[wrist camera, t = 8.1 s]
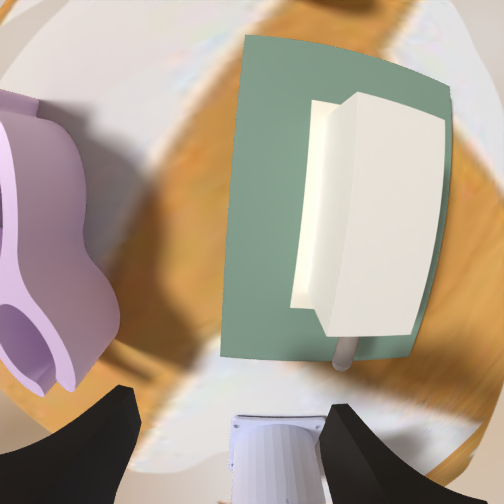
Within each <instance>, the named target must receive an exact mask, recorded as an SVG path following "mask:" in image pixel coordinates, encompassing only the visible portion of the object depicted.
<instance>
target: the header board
mask: <svg viewBox="0 0 504 504" xmlns="http://www.w3.org/2000/svg"><path fill="white" fill-rule="evenodd" d="M356 92H361V93H365V94H369V95H373V96H376V97H380V98H383V99H387V100H390V101H393V102H397V103H400V104H403V105H406V106H409V107H412V108H415V109H417V110H420V111H423V112H426V113H428V114H431V115H433V116H436V117H438V118H441V119H443V120H445V158H444V175H443V187H442V197H441V206H440V213H439V220H438V227H437V233H436V239H435V244H434V249H433V254H432V259H431V264H430V268H429V272H428V277H427V281H426V285H425V288H424V292H423V296H422V299H421V303H420V306H419V310H418V313H417V316H416V319H415V323H414V326H413V329H412V332H411V335H392V336H360V339H359V343H358V346H357V350H356V353H355V356H354V359H353V361H354V360H374V359H388V358H400V357H409V355H410V352H411V350H412V347H413V344H414V342H415V339H416V336H417V333H418V330H419V327H420V324H421V321H422V318H423V315H424V312H425V309H426V305H427V302H428V299H429V295H430V291H431V288H432V284H433V280H434V276H435V272H436V267H437V263H438V258H439V254H440V249H441V244H442V238H443V232H444V226H445V220H446V213H447V205H448V196H449V186H450V174H451V154H452V117H451V98H450V87H449V86H447V85H445V84H443V83H441V82H439V81H437V80H434V79H432V78H430V77H428V76H425V75H423V74H420V73H418V72H415V71H413V70H410V69H408V68H405V67H402V66H400V65H397V64H394V63H391V62H388V61H385V60H382V59H379V58H376V57H372V56H369V55H365V54H362V53H358V52H354V51H351V50H347V49H342V48H338V47H334V46H329V45H324V44H319V43H313V42H308V41H301V40H295V39H287V38H279V37H269V36H257V35H245V42H244V50H243V59H242V67H241V76H240V85H239V95H238V104H237V114H236V125H235V135H234V146H233V158H232V169H231V182H230V194H229V208H228V222H227V236H226V252H225V268H224V286H223V306H222V328H221V353H220V357H230V358H243V359H258V360H278V361H332V358H333V354H334V351H335V347H336V343H337V339H338V337H327V336H326V334H325V332H324V330H323V327H322V325H321V323H320V321H319V319H318V317H317V314H316V312H315V310H314V308H313V306H312V304H311V301H310V299H309V297H308V295H307V293H306V290H307V283H308V277H309V270H310V263H311V256H312V249H313V242H314V234H315V226H316V217H317V209H318V200H319V190H320V180H321V169H322V157H323V144H324V130H325V117H326V116H328V115H329V114H330V113H331V112H332V111H334V110H335V109H336V108H337V107H339V106H340V105H341V104H342V103H344V102H345V101H346V100H347V99H349V98H350V97H351V96H352V95H354V94H355V93H356Z"/></svg>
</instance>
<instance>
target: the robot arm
mask: <svg viewBox="0 0 504 504" xmlns="http://www.w3.org/2000/svg"><path fill="white" fill-rule="evenodd" d="M141 423H142V422H141V419H140V415H139V411H138V407H137V403H136V399H135V394H134V390H133V388H130V387H126V386H122V385H117V386H116V387H115V388H114V389H112V390H111V391H110V392H109V393H107V394H106V395H105V396H104V397H103V398H101V399H100V400H99V401H98V402H97V403H95V404H94V405H93V406H92V407H90V408H89V409H88V410H87V411H85V412H84V413H83V414H81V415H80V416H79V417H77V418H76V419H75V420H73V421H72V422H70V423H69V424H67V425H66V426H64V427H63V428H61V429H60V430H58V431H57V432H55V433H53V434H51V435H50V436H48V437H46V438H44V439H42V440H40V441H38V442H36V443H33V444H31V445H29V446H26V447H24V448H21V449H18V450H16V451H12V452H9V453H5V454H1V455H0V504H113V503H114V500H115V496H116V492H117V489H118V486H119V484H120V481H121V479H122V476H123V474H124V472H125V469H126V467H127V464H128V462H129V460H130V457H131V455H132V452H133V450H134V448H135V445H136V442H137V438H138V435H139V431H140V427H141ZM318 439H319V441H320V451H321V458H322V463H323V467H324V471H325V475H326V479H327V483H328V486H329V490H330V494H331V498H332V502H333V504H488V503H487V501H484V500H480V499H476V498H472V497H468V496H465V495H462V494H459V493H456V492H454V491H452V490H449V489H447V488H445V487H443V486H441V485H439V484H437V483H435V482H433V481H432V480H430V479H428V478H426V477H425V476H423V475H422V474H420V473H419V472H417V471H416V470H414V469H413V468H412V467H410V466H409V465H407V464H406V463H405V462H404V461H402V460H401V459H400V458H399V457H398V456H397V455H395V454H394V453H393V452H392V451H391V450H390V449H389V448H388V447H387V446H386V445H385V444H384V443H383V442H382V441H381V440H380V439H379V438H378V437H377V436H376V435H375V434H374V433H373V432H372V431H371V430H370V429H369V427H368V426H367V425H366V424H365V423H364V422H363V421H362V420H361V418H360V417H359V416H358V415H357V414H356V413H355V412H354V410H353V409H352V408H351V407H350V406H349V405H348V404H333V405H332V406H331V409H330V411H329V414H328V417H327V419H326V422H325V419H324V418H323V417H312V418H260V417H241V416H235V417H233V418H232V421H231V436H230V452H229V470H230V471H233V479H232V497H231V504H326V501H325V496H324V491H323V486H322V481H321V476H320V471H319V466H318V461H317V456H316V451H315V446H316V444H317V442H318Z"/></svg>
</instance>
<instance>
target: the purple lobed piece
mask: <svg viewBox="0 0 504 504" xmlns="http://www.w3.org/2000/svg"><path fill="white" fill-rule="evenodd" d="M38 107H39V100H38V99H35V98H32V97H28V96H25V95H21V94H17V93H13V92H9V91H5V90H1V89H0V185H1V194H2V208H3V231H2V228H1V225H0V359H1V360H2V362H3V363H4V364H5V366H6V367H7V368H8V370H9V371H10V372H11V373H12V374H13V376H14V377H15V378H16V379H17V380H18V381H19V382H20V383H22V384H23V385H24V386H25V387H26V388H28V389H29V390H30V391H32V392H33V393H35V394H37V395H38V396H40V397H44V396H45V395H46V394H47V392H48V391H49V390H50V389H51V387H52V386H53V385H54V384H55V383H56V381H57V382H58V383H59V384H60V385H61V386H62V387H63V388H64V389H65V390H67V391H69V392H74V391H75V389H76V388H77V387H78V385H79V384H80V382H81V381H82V380H83V378H84V377H85V376H86V374H87V373H88V372H89V370H90V369H91V368H92V366H93V365H94V364H95V362H96V361H97V360H98V359H99V357H100V356H101V355H102V353H103V352H104V351H105V349H106V348H107V347H108V346H109V344H110V343H111V342H112V341H113V339H114V338H115V337H116V335H117V333H118V330H119V326H120V310H119V305H118V301H117V298H116V295H115V293H114V290H113V288H112V286H111V284H110V283H109V281H108V279H107V278H106V276H105V275H104V274H103V272H102V271H101V270H100V269H99V268H98V267H97V266H96V265H95V264H94V262H93V261H92V260H91V258H90V256H89V254H88V252H87V250H86V247H85V244H84V238H83V227H84V220H85V213H86V199H87V198H86V179H85V173H84V168H83V163H82V160H81V156H80V154H79V151H78V149H77V146H76V144H75V142H74V141H73V139H72V137H71V136H70V135H69V133H68V132H67V131H66V130H65V129H64V128H63V127H62V126H60V125H59V124H57V123H55V122H53V121H50V120H46V119H42V118H37V110H38Z"/></svg>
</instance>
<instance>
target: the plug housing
mask: <svg viewBox="0 0 504 504" xmlns="http://www.w3.org/2000/svg"><path fill="white" fill-rule="evenodd" d="M444 158H445V120H443V119H441V118H438V117H436V116H433V115H431V114H428V113H426V112H423V111H420V110H417V109H415V108H412V107H409V106H406V105H403V104H400V103H397V102H393V101H390V100H387V99H383V98H380V97H376V96H373V95H369V94H365V93H361V92H356V93H355V94H354V95H352V96H351V97H350V98H349V99H347V100H346V101H345V102H344V103H342V104H341V105H340V106H339V107H337V108H336V109H335V110H334V111H332V112H331V113H330V114H329V115H328V116H326V117H325V130H324V144H323V157H322V169H321V180H320V190H319V200H318V209H317V217H316V226H315V234H314V242H313V249H312V256H311V263H310V270H309V277H308V283H307V290H306V293H307V295H308V297H309V299H310V301H311V304H312V306H313V308H314V310H315V312H316V314H317V317H318V319H319V321H320V323H321V325H322V327H323V330H324V332H325V334H326V336H327V337H338V339H337V343H336V347H335V351H334V354H333V358H332V365H333V367H334V368H335V369H336V370H338V371H345V370H347V369H349V368H350V367H351V365H352V362H353V359H354V356H355V353H356V350H357V346H358V343H359V339H360V336H392V335H411V332H412V329H413V326H414V323H415V319H416V316H417V313H418V310H419V306H420V303H421V299H422V296H423V292H424V288H425V285H426V281H427V277H428V272H429V268H430V264H431V259H432V254H433V249H434V244H435V239H436V233H437V227H438V220H439V213H440V206H441V197H442V187H443V175H444Z"/></svg>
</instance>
